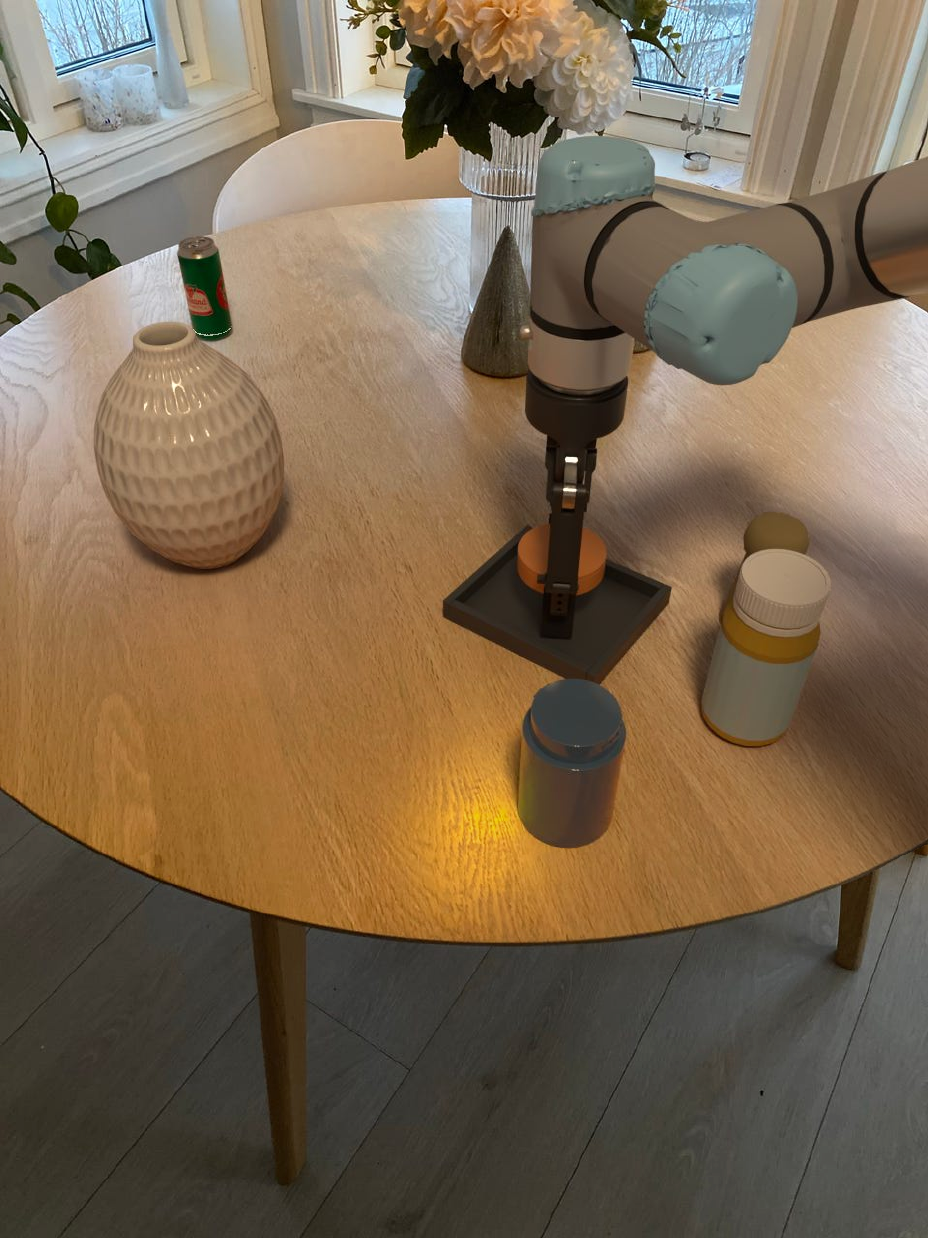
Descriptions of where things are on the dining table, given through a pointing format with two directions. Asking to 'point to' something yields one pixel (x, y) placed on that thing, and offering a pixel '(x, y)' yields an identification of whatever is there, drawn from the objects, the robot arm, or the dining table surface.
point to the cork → (770, 540)
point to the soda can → (204, 287)
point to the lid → (536, 558)
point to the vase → (188, 449)
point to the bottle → (765, 647)
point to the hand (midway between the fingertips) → (558, 602)
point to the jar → (570, 762)
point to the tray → (601, 615)
